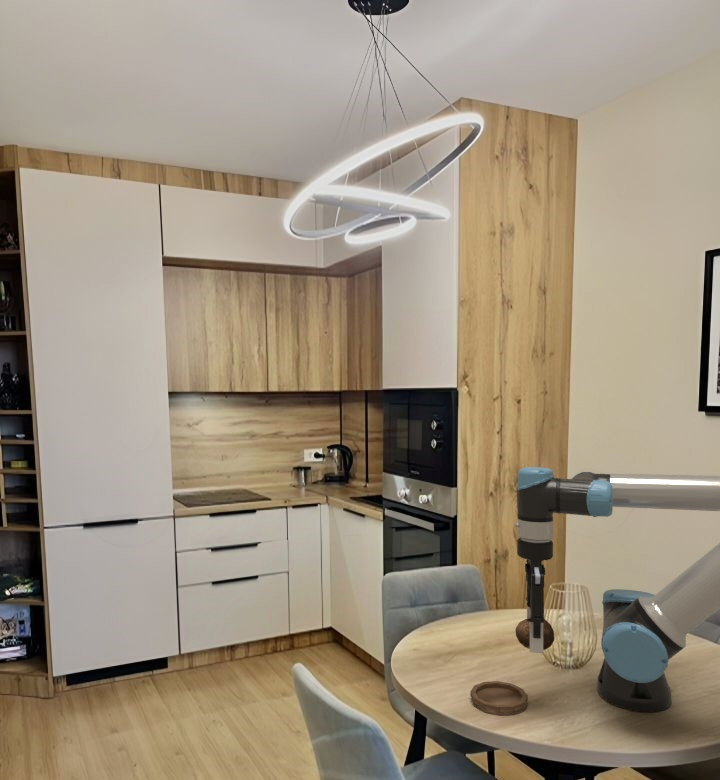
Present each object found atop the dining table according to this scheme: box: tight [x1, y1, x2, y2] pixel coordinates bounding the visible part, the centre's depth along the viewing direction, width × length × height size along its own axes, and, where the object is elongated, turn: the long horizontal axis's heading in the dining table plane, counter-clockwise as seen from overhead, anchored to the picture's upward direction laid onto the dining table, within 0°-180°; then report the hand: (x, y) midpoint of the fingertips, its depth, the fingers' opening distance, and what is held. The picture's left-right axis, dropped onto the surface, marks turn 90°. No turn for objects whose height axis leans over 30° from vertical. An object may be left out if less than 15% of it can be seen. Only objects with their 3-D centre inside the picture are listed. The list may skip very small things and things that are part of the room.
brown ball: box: [515, 617, 555, 651], centre depth 131 cm, size 8×8×6 cm
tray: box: [469, 680, 529, 717], centre depth 133 cm, size 12×12×2 cm
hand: (534, 644), depth 130 cm, fingers closed on brown ball, 7 cm apart
